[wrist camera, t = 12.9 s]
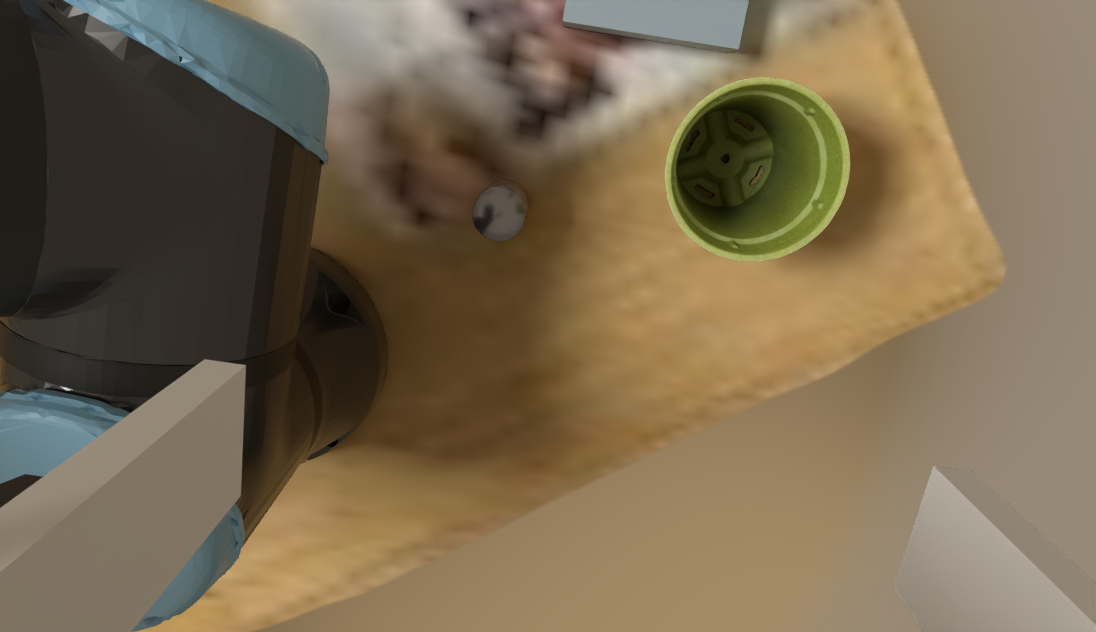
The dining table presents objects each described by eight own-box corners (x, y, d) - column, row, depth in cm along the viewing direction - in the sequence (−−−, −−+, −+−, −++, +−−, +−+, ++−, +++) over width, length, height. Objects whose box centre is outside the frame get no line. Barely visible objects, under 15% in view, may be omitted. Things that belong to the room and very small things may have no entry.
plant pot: (749, 258, 48) (789, 291, 40) (620, 193, 47) (633, 213, 39) (827, 124, 46) (886, 130, 37) (693, 53, 45) (723, 42, 36)
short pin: (478, 223, 48) (469, 237, 43) (484, 176, 47) (475, 185, 42) (525, 230, 48) (520, 244, 43) (531, 183, 47) (528, 193, 42)
